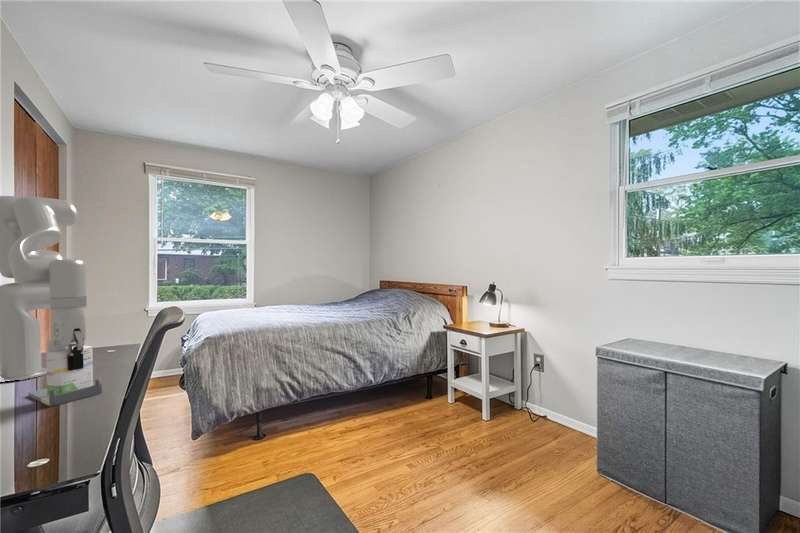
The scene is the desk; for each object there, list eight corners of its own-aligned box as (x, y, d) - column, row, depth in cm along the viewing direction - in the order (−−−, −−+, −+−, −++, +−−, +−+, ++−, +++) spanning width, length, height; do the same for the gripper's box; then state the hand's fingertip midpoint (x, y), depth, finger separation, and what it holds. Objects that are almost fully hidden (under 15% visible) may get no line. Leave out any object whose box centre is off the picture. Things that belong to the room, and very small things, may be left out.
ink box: (60, 397, 95) (59, 341, 95) (46, 396, 96) (44, 341, 96) (94, 385, 104) (93, 335, 103) (81, 385, 105) (79, 334, 104)
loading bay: (28, 395, 101) (27, 381, 101) (77, 384, 111) (76, 371, 110) (51, 406, 93) (50, 391, 93) (102, 393, 102) (101, 379, 102)
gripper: (39, 303, 101) (41, 367, 101) (63, 306, 92) (65, 376, 92) (73, 301, 107) (75, 360, 107) (99, 303, 99) (101, 368, 99)
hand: (70, 367), depth 100 cm, fingers closed on ink box, 6 cm apart
